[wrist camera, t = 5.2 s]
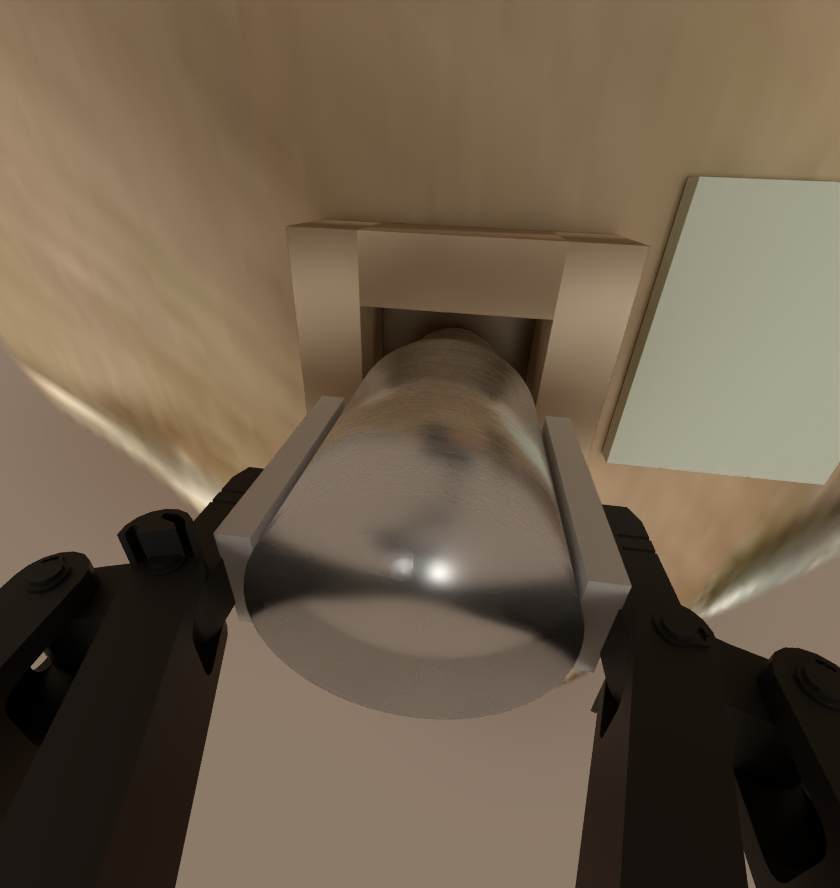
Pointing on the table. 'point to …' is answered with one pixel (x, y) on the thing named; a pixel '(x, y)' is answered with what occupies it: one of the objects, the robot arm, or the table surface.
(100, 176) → the table surface
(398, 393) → the metal cylinder
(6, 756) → the robot arm
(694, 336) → the mat
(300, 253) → the bore block
